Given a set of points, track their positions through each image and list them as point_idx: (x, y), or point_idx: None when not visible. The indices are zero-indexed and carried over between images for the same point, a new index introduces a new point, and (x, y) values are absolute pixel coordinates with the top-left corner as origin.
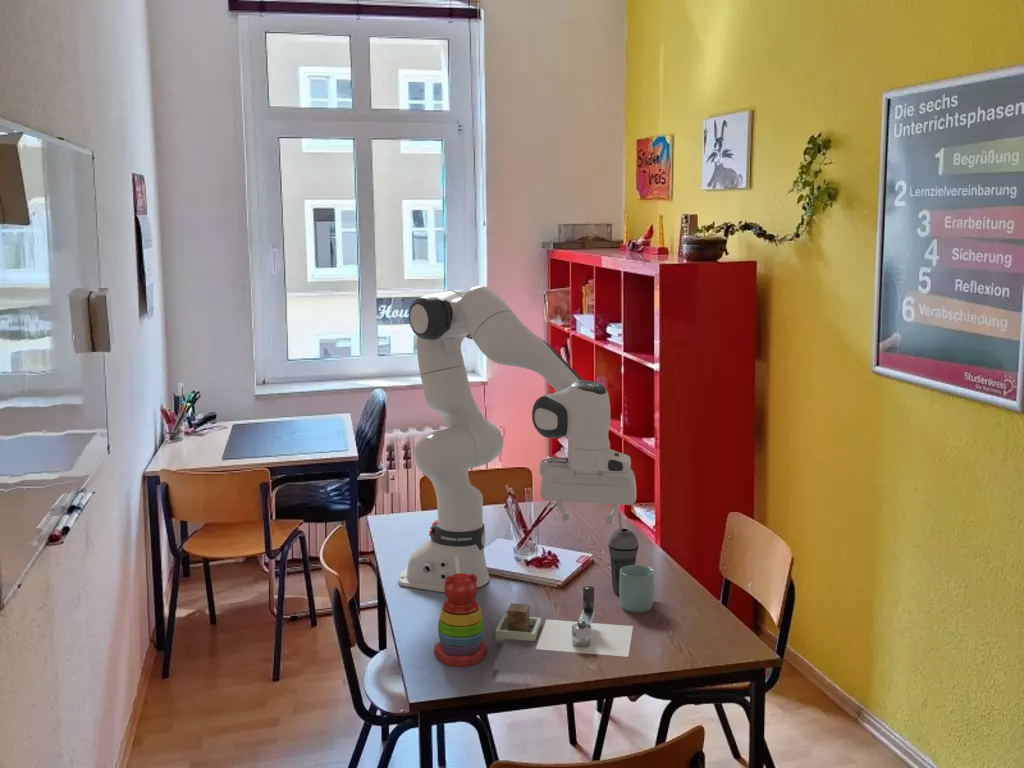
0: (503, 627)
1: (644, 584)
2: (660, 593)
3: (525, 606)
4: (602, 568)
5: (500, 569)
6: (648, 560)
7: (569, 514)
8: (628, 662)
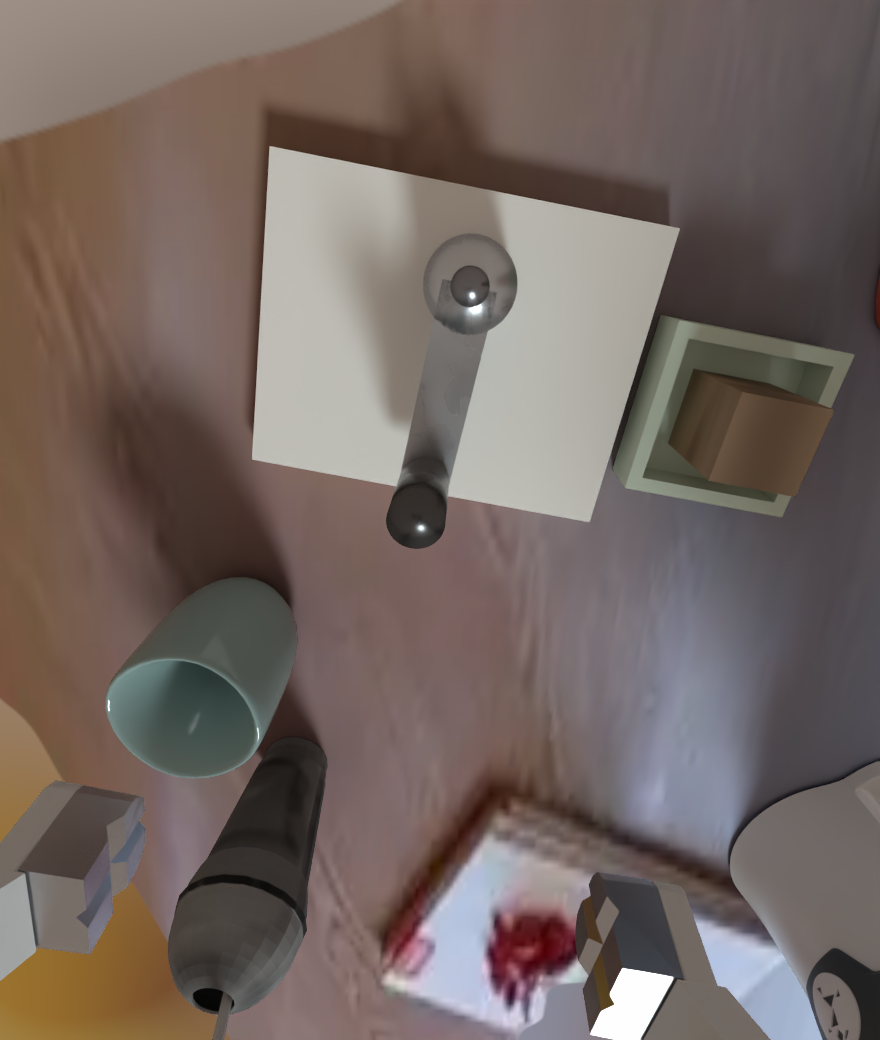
0: None
1: (161, 637)
2: None
3: (731, 458)
4: (356, 903)
5: None
6: None
7: (592, 982)
8: None
